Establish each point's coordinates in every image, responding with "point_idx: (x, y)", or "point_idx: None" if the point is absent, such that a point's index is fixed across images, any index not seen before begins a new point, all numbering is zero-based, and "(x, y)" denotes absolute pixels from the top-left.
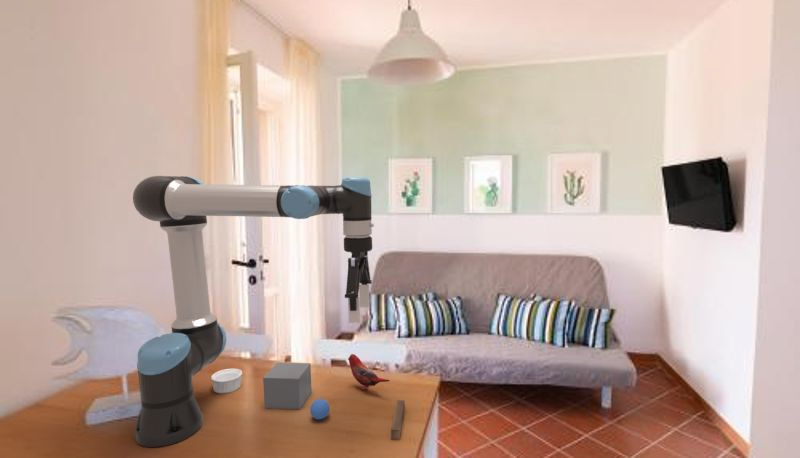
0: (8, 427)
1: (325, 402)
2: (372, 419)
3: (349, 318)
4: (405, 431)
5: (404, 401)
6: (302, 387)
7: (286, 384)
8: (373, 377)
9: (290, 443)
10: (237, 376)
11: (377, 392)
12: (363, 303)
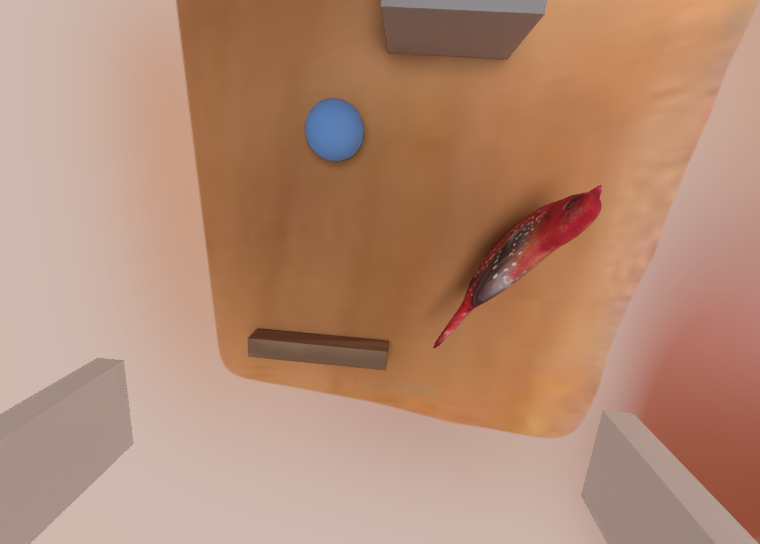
0: None
1: (328, 148)
2: (337, 281)
3: (65, 384)
4: None
5: (382, 369)
6: (420, 31)
7: None
8: (473, 292)
9: (218, 80)
10: None
11: None
12: (617, 480)
